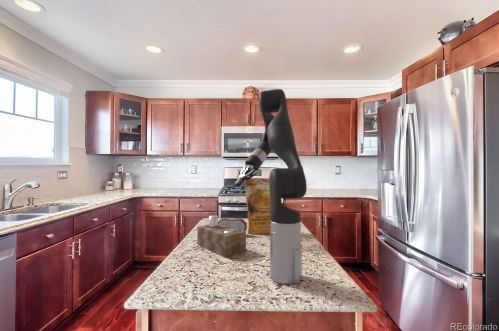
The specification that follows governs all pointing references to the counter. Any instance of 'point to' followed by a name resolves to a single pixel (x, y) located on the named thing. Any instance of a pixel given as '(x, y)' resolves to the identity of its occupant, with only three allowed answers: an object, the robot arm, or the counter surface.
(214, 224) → the peg
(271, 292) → the counter surface
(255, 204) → the pancake mix bag
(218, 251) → the collar block
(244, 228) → the tin
